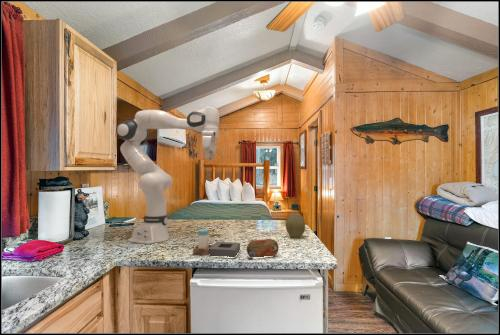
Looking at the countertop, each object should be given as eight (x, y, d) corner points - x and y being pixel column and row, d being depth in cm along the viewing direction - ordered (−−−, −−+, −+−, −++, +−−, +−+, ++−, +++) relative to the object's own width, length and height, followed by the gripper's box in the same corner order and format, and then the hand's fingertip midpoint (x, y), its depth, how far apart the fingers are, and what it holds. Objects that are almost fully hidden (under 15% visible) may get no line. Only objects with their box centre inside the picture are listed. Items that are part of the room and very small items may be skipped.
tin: (247, 260, 113) (247, 241, 113) (245, 258, 116) (245, 239, 116) (278, 257, 117) (278, 238, 117) (276, 254, 120) (276, 237, 120)
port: (209, 257, 116) (209, 248, 116) (216, 249, 128) (216, 241, 128) (235, 259, 115) (235, 250, 115) (240, 250, 126) (240, 242, 126)
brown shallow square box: (193, 255, 120) (193, 248, 120) (198, 250, 127) (198, 244, 127) (208, 255, 119) (208, 249, 119) (213, 250, 126) (213, 244, 126)
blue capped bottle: (198, 254, 121) (198, 231, 121) (200, 251, 125) (201, 229, 125) (206, 254, 121) (206, 231, 121) (208, 251, 125) (208, 229, 125)
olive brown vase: (287, 239, 146) (287, 213, 146) (284, 235, 157) (284, 210, 157) (307, 239, 146) (307, 213, 147) (302, 234, 158) (302, 210, 158)
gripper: (208, 138, 153) (207, 161, 152) (200, 130, 133) (199, 156, 132) (219, 139, 153) (217, 161, 152) (212, 131, 133) (210, 157, 132)
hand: (208, 159), depth 142 cm, fingers open, 8 cm apart
